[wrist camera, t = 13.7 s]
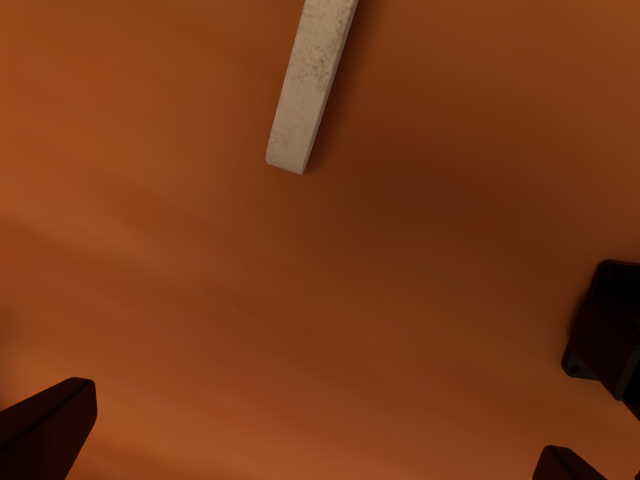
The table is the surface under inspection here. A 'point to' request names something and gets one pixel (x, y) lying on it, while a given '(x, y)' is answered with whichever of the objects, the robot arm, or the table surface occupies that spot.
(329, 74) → the wrench
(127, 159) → the table surface
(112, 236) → the table surface
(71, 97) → the table surface
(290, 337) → the table surface
